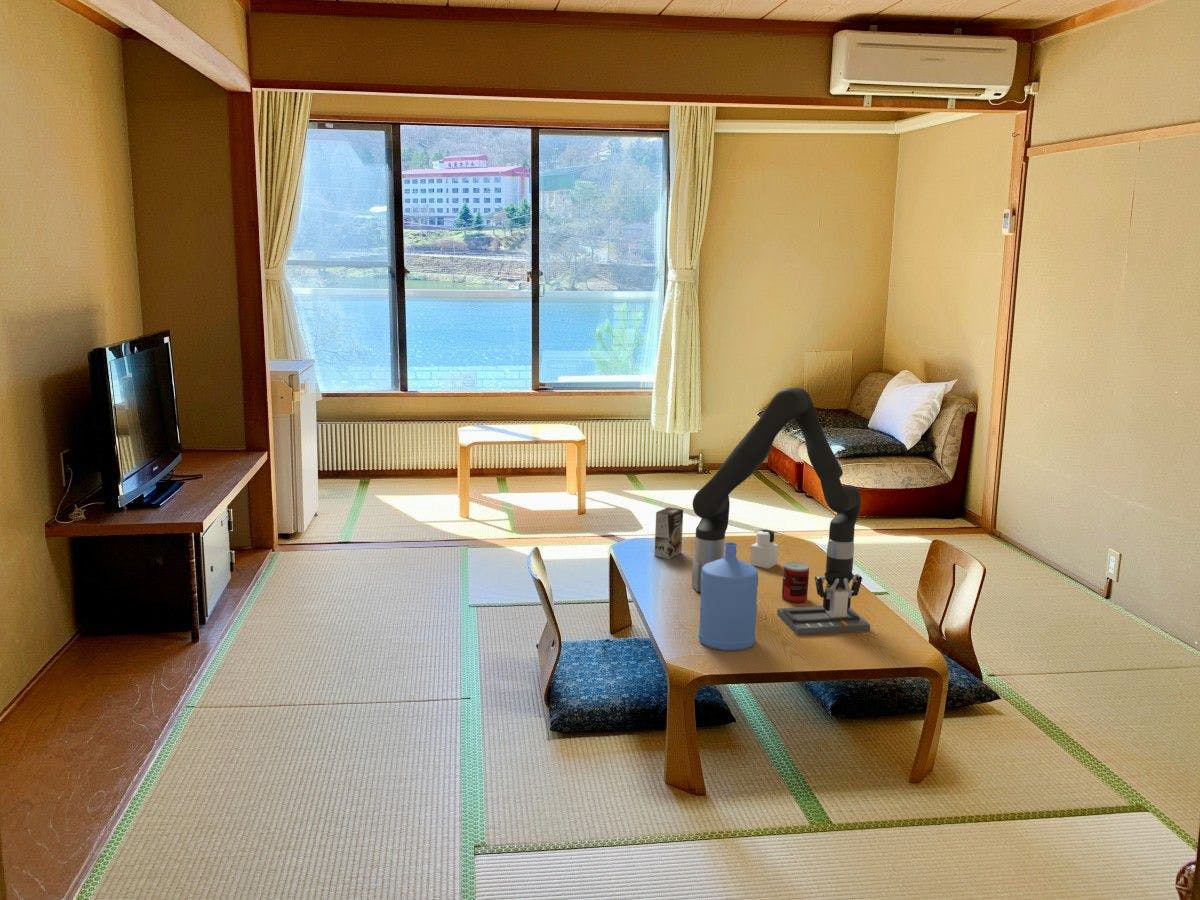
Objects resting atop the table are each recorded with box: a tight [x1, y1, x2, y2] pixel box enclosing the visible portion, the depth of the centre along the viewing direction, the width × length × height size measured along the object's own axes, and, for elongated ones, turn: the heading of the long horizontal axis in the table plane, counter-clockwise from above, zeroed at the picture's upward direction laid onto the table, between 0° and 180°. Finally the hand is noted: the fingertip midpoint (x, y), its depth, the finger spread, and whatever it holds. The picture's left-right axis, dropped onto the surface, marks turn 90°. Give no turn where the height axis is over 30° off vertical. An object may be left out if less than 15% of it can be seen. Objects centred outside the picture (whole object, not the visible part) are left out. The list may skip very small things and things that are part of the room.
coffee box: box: [654, 506, 684, 560], centre depth 354 cm, size 9×6×16 cm
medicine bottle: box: [749, 529, 779, 570], centre depth 345 cm, size 7×7×12 cm
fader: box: [825, 588, 848, 618], centre depth 294 cm, size 4×6×8 cm, turn 10°
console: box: [776, 605, 871, 636], centre depth 294 cm, size 22×16×3 cm
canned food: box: [781, 561, 810, 604], centre depth 313 cm, size 8×8×11 cm
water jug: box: [698, 541, 759, 652], centre depth 277 cm, size 16×16×28 cm
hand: (836, 609), depth 295 cm, fingers open, 5 cm apart
